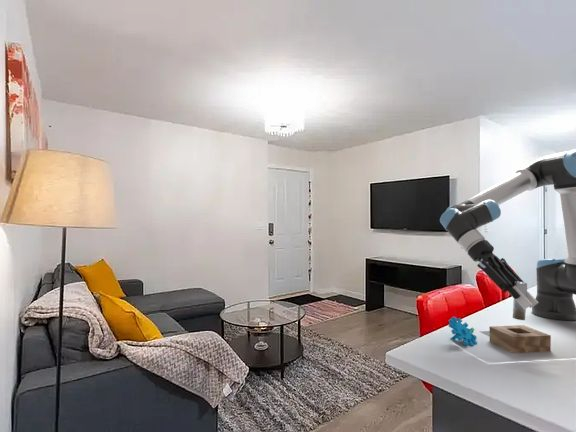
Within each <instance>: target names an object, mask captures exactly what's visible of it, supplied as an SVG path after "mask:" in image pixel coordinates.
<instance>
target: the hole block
mask: <svg viewBox="0 0 576 432" xmlns="http://www.w3.org/2000/svg"><path fill="white" fill-rule="evenodd" d="M489 331H490V337H489V342H490V343H492V344H494V345H496V346H498V347H500V348H502V349H504V350H506V351H508V352H510V353H513V354H525V353H542V352H546V353H547V352H551V351H552V347H551V346H552V344H551V341H552V340H551V339H552V337H551V336H552V335H550V334H548V333H546V332H543V331H540V330H537V329H534V328H532V327H529V326H527V325H525V324H517V325H516V324H515V325H495V326H490V325H489Z"/></svg>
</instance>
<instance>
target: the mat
mask: <svg viewBox="0 0 576 432" xmlns="http://www.w3.org/2000/svg"><path fill="white" fill-rule="evenodd" d="M479 333H481V334H484V335H485V336H488V338H490V330H483V331H482V330H481V331H479Z"/></svg>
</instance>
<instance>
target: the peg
mask: <svg viewBox="0 0 576 432" xmlns="http://www.w3.org/2000/svg"><path fill="white" fill-rule="evenodd" d="M514 286H516V287H517V288H518V289H519V290H520V291H521V292H522V293H523V294H524V296H525V297H526V296H527V291H528V283H527V282H524V281H523V282H517V281H516V282H515V284H514ZM512 306H513V307H512V319H514V320H518V321H525V320H526V310H527V308H526V309H525V310H524V309H523V308H522V307H521V306H520V305H519V303H518V302H517V301H516V300H515V299H514V298H513V304H512Z"/></svg>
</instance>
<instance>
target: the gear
mask: <svg viewBox="0 0 576 432" xmlns="http://www.w3.org/2000/svg"><path fill="white" fill-rule="evenodd" d="M448 322H449V323H448V327H449V328H451V330H450V331H451V333H452V336H451V337H450V340H452V341H455V340H456V339H457V341H458V342H461V341H462V340H464V341H463V342H462V343H463V345H464V346H466V347H467V346H469V347H470V346H471V347H474V346H475V345H476V344H478V342H477V339H478V338H477V335H475V334H474V331H475V328H474V327H471V328H468V326H469V324H468V323H467V322H466V321H465V322H464V323H462V322H463V319H461V318H460V317H459V318H457V317H456V316H452V317H451V318H450V319H449V320H448Z"/></svg>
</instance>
